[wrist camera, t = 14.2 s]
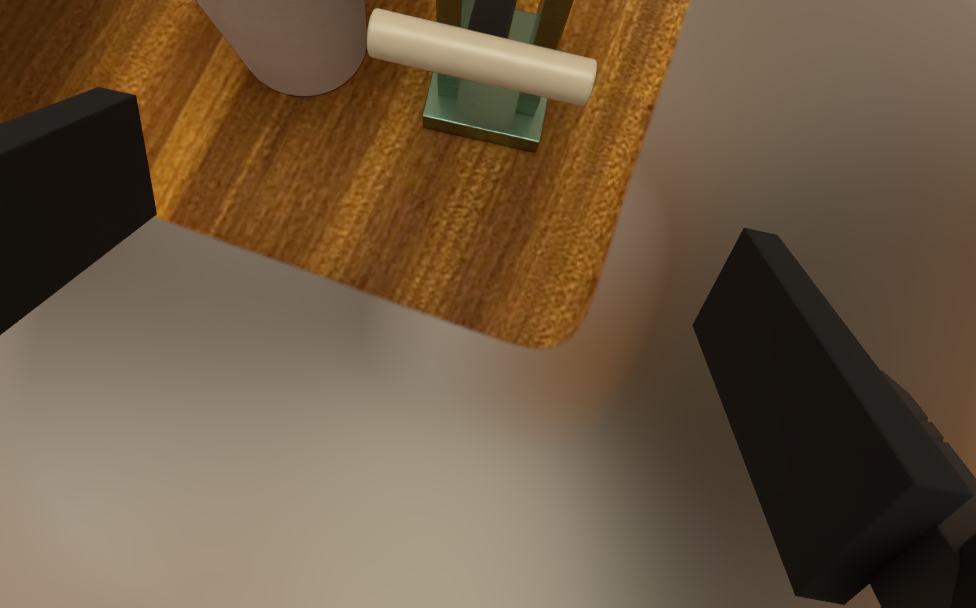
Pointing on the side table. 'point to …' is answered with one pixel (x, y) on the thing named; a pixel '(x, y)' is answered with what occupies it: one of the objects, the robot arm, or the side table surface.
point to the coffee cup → (294, 40)
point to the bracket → (490, 106)
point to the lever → (481, 52)
